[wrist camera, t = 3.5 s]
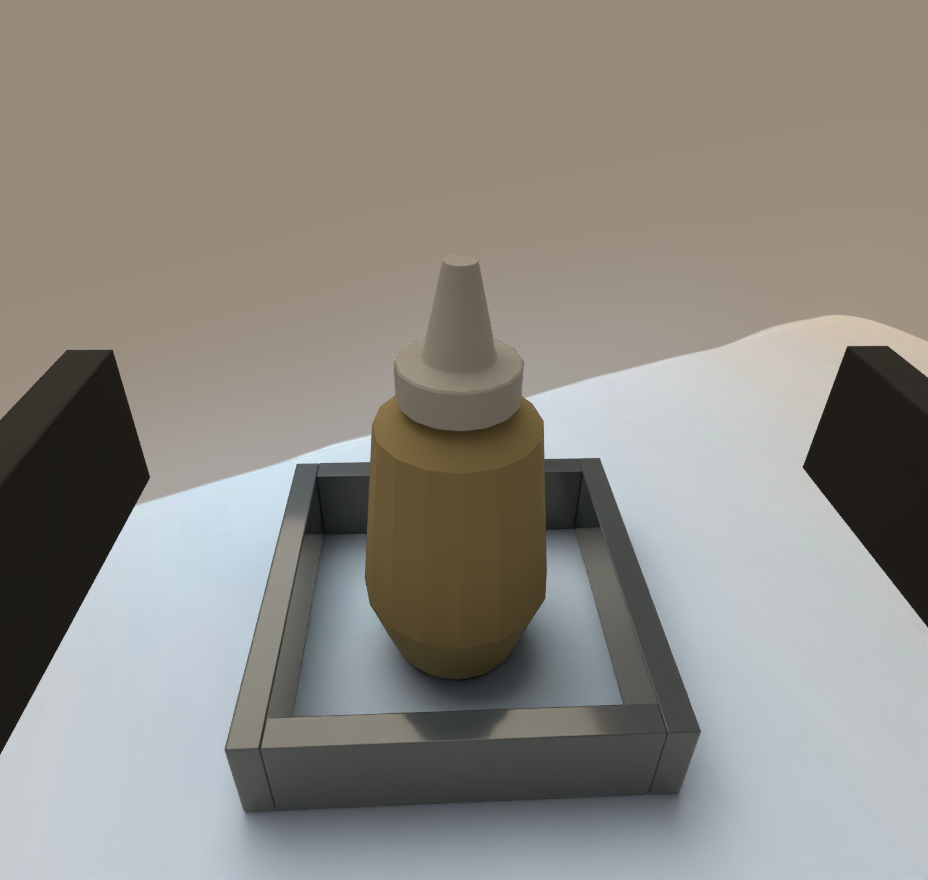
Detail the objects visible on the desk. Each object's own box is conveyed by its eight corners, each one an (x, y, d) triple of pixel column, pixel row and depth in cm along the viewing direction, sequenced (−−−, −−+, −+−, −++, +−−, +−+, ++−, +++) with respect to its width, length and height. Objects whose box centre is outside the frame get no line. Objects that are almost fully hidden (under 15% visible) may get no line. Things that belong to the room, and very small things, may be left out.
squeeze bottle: (558, 592, 35) (605, 238, 24) (514, 729, 28) (553, 328, 18) (410, 553, 37) (396, 213, 27) (339, 673, 30) (286, 286, 20)
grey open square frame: (591, 513, 40) (599, 457, 37) (679, 793, 26) (701, 731, 24) (305, 520, 39) (296, 463, 37) (243, 812, 25) (223, 750, 23)
